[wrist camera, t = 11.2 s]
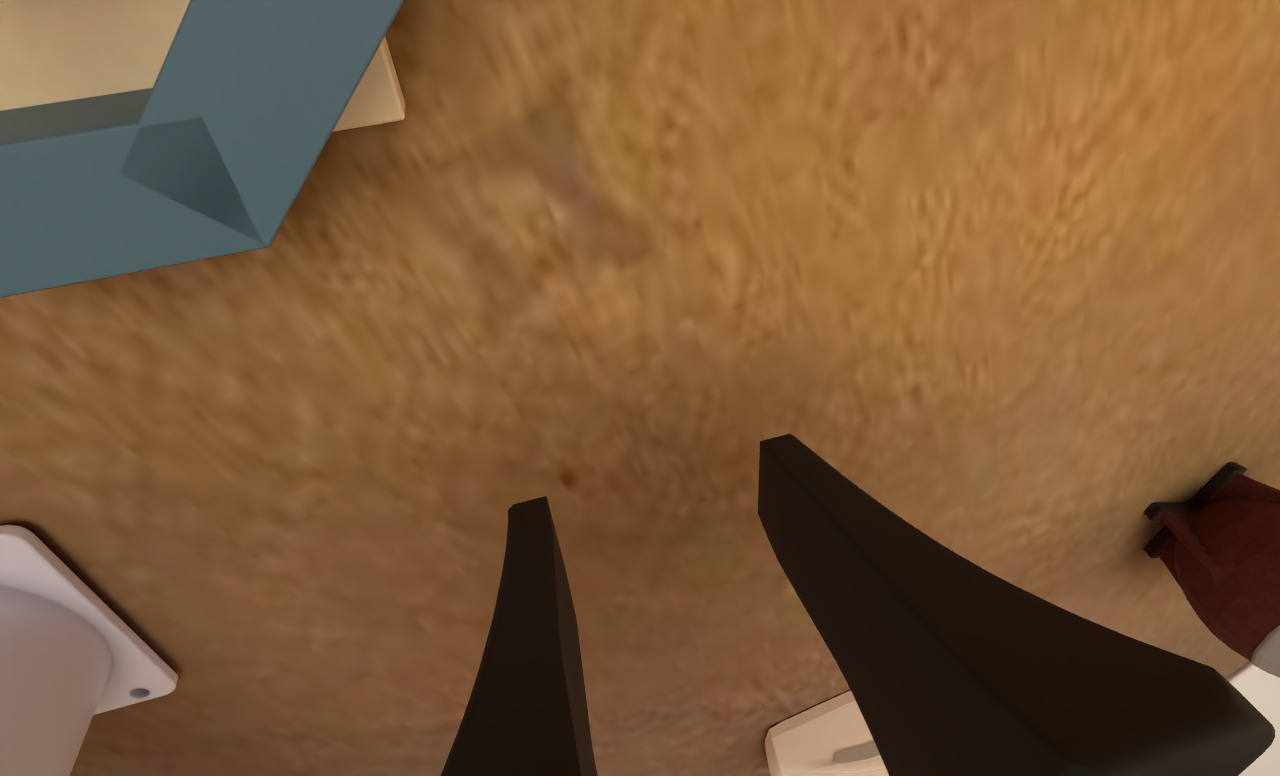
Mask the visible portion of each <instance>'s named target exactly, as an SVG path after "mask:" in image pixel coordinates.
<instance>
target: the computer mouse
mask: <svg viewBox="0 0 1280 776" xmlns="http://www.w3.org/2000/svg"><path fill="white" fill-rule="evenodd" d="M765 750H766V755H767V760H768V765H769V771H770V776H889V774H888V772H887V769H886V767H885V765H884V763H883V760H882V758H881V756H880V753H879V751H878V749H877V747H876V744H875V742H874V740H873V737H872V735H871V733H870V731H869V729H868V726H867V724H866V722H865V720H864V718H863V715H862V713H861V711H860V709H859V707H858V705H857V702H856V700H855V698H854V696H853V694H852V692H851V690H850V691H848V692H846V693H844V694H841V695H839V696H837V697H835V698H832V699H830V700H828V701H826V702H823V703H821V704H819V705H817V706H815V707H813V708H810V709H808V710H806V711H804V712H802V713H800V714H798V715H795V716H793V717H791V718H789V719H787V720H784V721H782V722H780V723H779V724H777V725H775V726H774V727H772V728H770V729H769V731H768V733H767V736H766V738H765Z"/></svg>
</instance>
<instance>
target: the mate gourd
mask: <svg viewBox="0 0 1280 776" xmlns="http://www.w3.org/2000/svg"><path fill="white" fill-rule="evenodd" d="M1246 470H1247V469H1246V468H1245V467H1243V466H1240V465H1238V464H1237V463H1229V464H1227V465H1226V466H1225V467H1224V468H1223V469H1222V470H1221V471H1220V472H1219V473H1218V474H1217V475H1216V476H1215V477H1214V478H1213V479H1212V480H1211V481H1210V482H1209V483H1208V484H1207V485H1206V486H1205V487H1204V488H1203V489H1202V490H1201V491H1200V492H1199V493H1198V494H1197V495H1196V496H1195V497H1194V498H1193V499H1192V500H1191V501H1189V502H1187V503H1154V504H1153V505H1151V506H1150V508H1149V509H1148V510H1147V511H1146V512H1145V515H1146V516H1147V517H1148V518H1149V519H1150V520H1152V521H1162V522H1163V523H1164V524H1165V525H1166V527H1165V528H1164V529H1163V530H1162V531H1161V532H1160V533H1159V534H1158V535H1157V536H1156V538H1155V539H1154V540H1153V541H1152V542H1151V543H1150V544H1149V545H1148V546H1147V547H1146V548H1145V549H1144V551H1146V552H1147V554H1148V555H1149V556H1150V558H1158V557H1160V559H1161V560H1162V561H1163V562H1164V564H1165V565H1166V567H1167V568H1168V569H1169V571H1170V572H1171V574H1172V575H1173V577H1174V578H1175V580H1176V581H1177V583H1178V584H1179V586H1180V587H1181V588H1182V590H1183V592H1184V594H1185V596H1186V598H1187V600H1188V601H1189V603H1190V605H1191V606H1192V608H1193V609H1194V611H1195V612H1196V614H1197V615H1198V617H1199V618H1200V619H1201V621H1202V622H1203V623H1204V624H1205V625H1206V626H1207V627H1208V629H1209V630H1210V631H1211V632H1212V633H1213V634H1214V635H1215V636H1216V637H1217V638H1218V639H1220V640H1221V641H1222V642H1223V643H1225V644H1226V645H1227V646H1228V647H1230V648H1231V649H1232V650H1234V651H1235V652H1237V653H1239V654H1240V655H1242V656H1243V657H1245V658H1247V659H1248V660H1250V661H1251V663H1252V664H1254V665H1255V666H1257V667H1259V668H1260V669H1262V670H1264V671H1266V672H1268V673H1270V674H1273V675H1275V676H1278V677H1280V490H1278V489H1275V488H1273V487H1270V486H1268V485H1265V484H1262V483H1260V482H1258V481H1255V480H1253V479H1251V478H1249V477H1246V476H1244V475H1243V473H1244V472H1245V471H1246Z"/></svg>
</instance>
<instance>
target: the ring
mask: <svg viewBox="0 0 1280 776" xmlns="http://www.w3.org/2000/svg"><path fill="white" fill-rule="evenodd" d="M403 2H404V0H190V2H189V4H188V7H187V9H186V11H185V14H184V16H183V18H182V21H181V23H180V25H179V28H178V30H177V32H176V34H175V37H174V39H173V41H172V44H171V46H170V48H169V51H168V53H167V55H166V58H165V60H164V62H163V65H162V67H161V69H160V72H159V74H158V76H157V79H156V81H155V83H154V86H153V88H148V89H141V90H135V91H128V92H121V93H115V94H108V95H102V96H95V97H88V98H82V99H75V100H69V101H62V102H55V103H49V104H42V105H35V106H29V107H22V108H16V109H9V110H2V111H0V298H2V297H7V296H12V295H17V294H23V293H28V292H33V291H39V290H44V289H49V288H55V287H60V286H65V285H70V284H76V283H81V282H86V281H92V280H97V279H102V278H108V277H113V276H118V275H124V274H129V273H134V272H139V271H145V270H150V269H155V268H161V267H166V266H171V265H177V264H182V263H187V262H192V261H198V260H203V259H208V258H214V257H219V256H224V255H230V254H235V253H240V252H245V251H251V250H256V249H261V248H266V247H269V246H270V245H271V243H272V241H273V239H274V237H275V236H276V234H277V232H278V230H279V228H280V226H281V225H282V223H283V221H284V219H285V217H286V215H287V214H288V212H289V210H290V208H291V206H292V205H293V203H294V201H295V199H296V197H297V195H298V194H299V192H300V190H301V188H302V186H303V184H304V183H305V181H306V179H307V177H308V175H309V174H310V172H311V170H312V168H313V166H314V164H315V163H316V161H317V159H318V157H319V155H320V153H321V152H322V150H323V148H324V146H325V144H326V143H327V141H328V139H329V137H330V135H331V133H332V132H333V130H334V128H335V126H336V124H337V122H338V121H339V119H340V117H341V115H342V113H343V112H344V110H345V108H346V106H347V104H348V102H349V101H350V99H351V97H352V95H353V93H354V91H355V90H356V88H357V86H358V84H359V82H360V81H361V79H362V77H363V75H364V73H365V71H366V70H367V68H368V66H369V64H370V62H371V60H372V59H373V57H374V55H375V53H376V51H377V50H378V48H379V46H380V44H381V42H382V40H383V39H384V37H385V35H386V33H387V31H388V29H389V28H390V26H391V24H392V22H393V20H394V19H395V17H396V15H397V13H398V11H399V9H400V8H401V6H402V4H403Z"/></svg>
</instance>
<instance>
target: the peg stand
mask: <svg viewBox="0 0 1280 776" xmlns="http://www.w3.org/2000/svg"><path fill="white" fill-rule="evenodd" d="M189 2H190V0H0V111H2V110H9V109H16V108H22V107H29V106H35V105H42V104H49V103H55V102H62V101H69V100H75V99H82V98H88V97H95V96H102V95H108V94H115V93H121V92H128V91H135V90H141V89H148V88H153V86H154V83H155V81H156V79H157V76H158V74H159V72H160V69H161V67H162V65H163V62H164V60H165V58H166V55H167V53H168V51H169V48H170V46H171V44H172V41H173V39H174V37H175V34H176V32H177V30H178V28H179V25H180V23H181V21H182V18H183V16H184V14H185V11H186V9H187V7H188V4H189ZM404 117H405V101H404V98H403V95H402V91H401V88H400V85H399V81H398V78H397V74H396V71H395V68H394V64H393V61H392V58H391V54H390V51H389V47H388V44H387V41H386V37H384V39H383V40H382V42H381V44H380V46H379V48H378V50H377V51H376V53H375V55H374V57H373V59H372V60H371V62H370V64H369V66H368V68H367V70H366V71H365V73H364V75H363V77H362V79H361V81H360V82H359V84H358V86H357V88H356V90H355V91H354V93H353V95H352V97H351V99H350V101H349V102H348V104H347V106H346V108H345V110H344V112H343V113H342V115H341V117H340V119H339V121H338V122H337V124H336V126H335V128H334V130H333V132H334V131H340V130H346V129H352V128H358V127H364V126H370V125H376V124H382V123H388V122H394V121H400V120H403V119H404Z"/></svg>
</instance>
